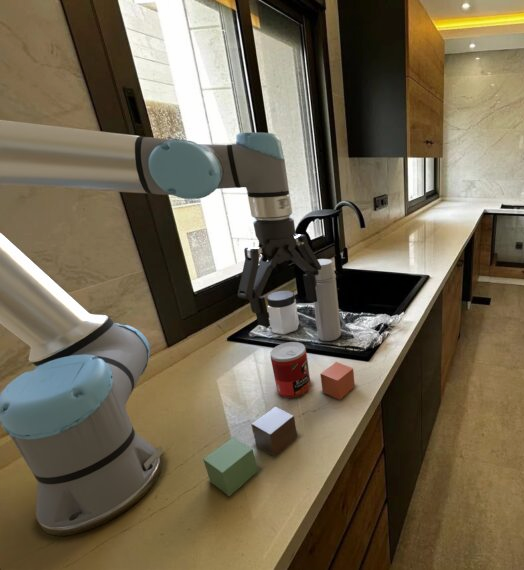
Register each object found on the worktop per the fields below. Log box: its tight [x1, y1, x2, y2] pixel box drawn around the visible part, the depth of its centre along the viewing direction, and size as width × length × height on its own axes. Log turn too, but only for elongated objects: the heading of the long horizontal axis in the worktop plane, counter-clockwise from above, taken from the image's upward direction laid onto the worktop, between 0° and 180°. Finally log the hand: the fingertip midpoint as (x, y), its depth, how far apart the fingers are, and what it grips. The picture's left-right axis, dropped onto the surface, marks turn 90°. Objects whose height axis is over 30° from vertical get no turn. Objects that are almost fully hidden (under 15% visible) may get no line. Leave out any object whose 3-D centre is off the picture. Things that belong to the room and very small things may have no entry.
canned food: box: [269, 341, 311, 399], centre depth 79 cm, size 8×8×11 cm
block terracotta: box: [320, 361, 356, 400], centre depth 80 cm, size 6×6×6 cm
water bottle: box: [313, 258, 342, 342], centre depth 99 cm, size 9×8×25 cm
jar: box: [266, 290, 300, 335], centre depth 107 cm, size 9×8×12 cm
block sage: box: [202, 436, 259, 497], centre depth 57 cm, size 6×6×6 cm
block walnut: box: [250, 405, 298, 457], centre depth 65 cm, size 6×6×6 cm
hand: (290, 312), depth 73 cm, fingers open, 13 cm apart
